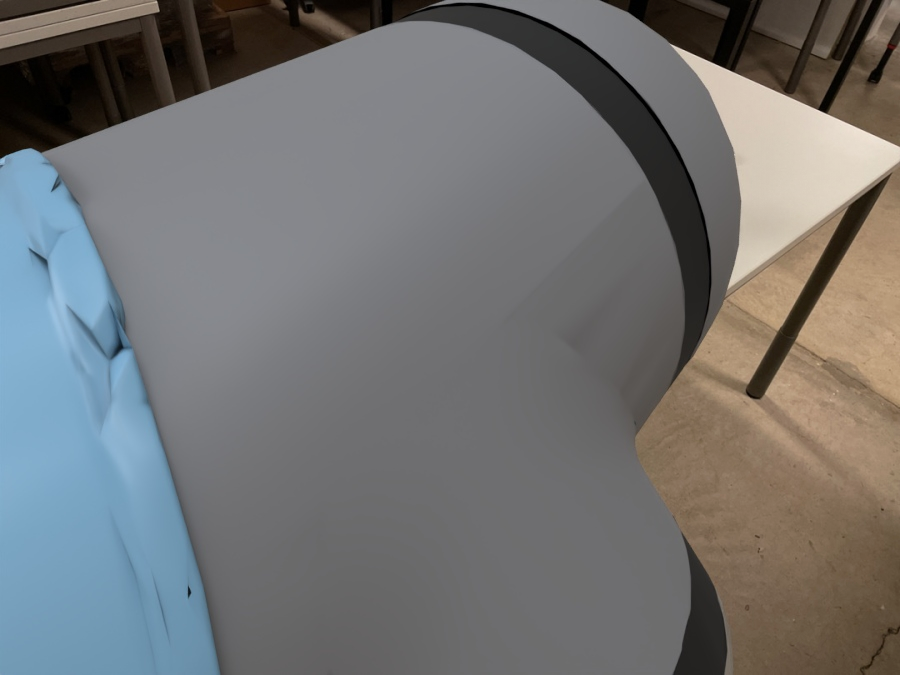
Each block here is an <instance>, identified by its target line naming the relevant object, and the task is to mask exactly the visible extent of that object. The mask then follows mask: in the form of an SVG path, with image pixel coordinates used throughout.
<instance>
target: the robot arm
mask: <svg viewBox="0 0 900 675" xmlns="http://www.w3.org/2000/svg"><path fill="white" fill-rule="evenodd" d="M734 152H735V149H734V146H733V144H732V141H731V139H730V137H729V134H728V132H727V130H726V127H725V125H724V123H723V120H722V118H721V115H720V113H719V111H718V109H717V106H716V104H715V101H714V100H713V97H712V95H711V93H710V91H709V89H708V88H707V87H706V85H705V84H704V83H703V81H702V80H701V78H700V76H699V75H698V74H697V73H696V71H695V70H694V69H693V68H692V67H691V66H690V65H689V63H688V62H687V61H686V60H685V59H684V58H683V57H682V56H681V55H680V53H679V52H678V51H677V50H676V49H675V48H674V47H673V46H672V44H670V42H669V41H668V40H667V39H666V38H664V37H663V36H662V35H660V34H659V33H658V32H656V31H655V30H653V29H652V28H650V27H649V26H648V25H646V24H645V23H643V22H642V21H640V19H638V18H636V17H635V16H634V15H633V14H631V13H630V12H628V11H626V10H623V9H620V8H619V7H616V6H614V5H612V4H609V3H607V2H604V1H602V0H442V1H439V2H436V3H433V4H430V5H428V6H425V7H423V8H420V9H417V10H415V11H412V12H410V13H407V14H405V15H404V16H402V17H400V18H399V19H397V20H394V21H393V22H391V23H389V24H386V25H382V26H379V27H376V28H374V29H371V30H368V31H366V32H362V33H360V34H357V35H355V36H352V37H349V38H347V39H344V40H342V41H339V42H335V43H332V44H330V45H328V46H325V47H323V48H320V49H317V50H314V51H311V52H309V53H306V54H304V55H301V56H298V57H296V58H293V59H290V60H287V61H284V62H282V63H280V64H277V65H274V66H272V67H268V68H266V69H263V70H260V71H258V72H255V73H252V74H250V75H248V76H245V77H241V78H239V79H236V80H234V81H231V82H228V83H226V84H222V85H220V86H217V87H215V88H213V89H210V90H207V91H204V92H202V93H199V94H196V95H193V96H191V97H188V98H186V99H182V100H180V101H177V102H175V103H172V104H170V105H167V106H164V107H161V108H158V109H156V110H153V111H151V112H148V113H145V114H143V115H140V116H137V117H134V118H132V119H128V120H127V121H123V122H121V123H118V124H115V125H112V126H109V127H108V128H105V129H102V130H100V131H97V132H94V133H92V134H89V135H86V136H83V137H80V138H78V139H76V140H73V141H69V142H67V143H64V144H62V145H59V146H57V147H54V148H51V149H49V150H45V151H42V152H40V151H38V150H36V149H34V148H26V149H25V148H24V149H21V150H18V151H15V152H13V153H10V154H6V155H5V156H3V157H2V158H0V675H734V666H735V665H734V657H733V656H734V655H733V642H732V641H733V640H732V631H731V627H730V624H729V620H728V617H727V614H726V611H725V607H724V604H723V601H722V598H721V596H720V594H719V592H718V590H717V588H716V586H715V584H714V581H713V580H712V578H711V576H710V575H709V573H708V571H707V570H706V568H705V567H704V565H703V563H702V562H701V560H700V559H699V557H698V555H697V554H696V552H695V551H694V549H693V548H692V546H691V544H690V543H689V541H688V539H687V537H686V536H685V534H684V533H683V531H682V530H681V528H680V526H679V524H678V522H677V520H676V518H675V516H674V515H673V514H672V512H671V511H670V509H669V507H668V505H667V504H666V502H665V500H664V499H663V498H662V496H661V495H660V493H659V492H658V490H657V488H656V486H655V485H654V483H653V482H652V481H651V479H650V476H648V474H647V472H646V470H645V469H644V467H643V464H642V462H641V461H640V459H639V457H638V451H637V447H636V437H637V435H638V434H639V432H640V431H641V430H642V428H643V426H644V425H645V423H646V422H647V421H648V419H649V418H650V417H651V415H652V414H653V413H654V411H655V409H656V408H657V407H658V405H659V404H660V402H661V401H662V399H663V398H664V396H665V395H666V393H667V392H668V391H669V389H670V388H671V387H672V385H673V384H674V382H675V381H676V380H677V379H678V377H679V376H680V374H681V372H682V371H683V370H684V368H685V367H686V366H687V364H689V362H690V361H691V360H692V359H693V357H694V356H695V355H696V353H697V352H698V350H699V348H700V346H701V345H702V343H703V341H704V339H705V338H706V336H707V334H708V333H709V331H710V329H711V327H712V326H713V324H714V322H715V320H716V318H717V317H718V315H719V312H720V311H721V309H722V307H723V305H724V301H725V298H726V295H727V291H728V289H729V285H730V282H731V278H732V275H733V272H734V268H735V264H736V260H737V255H738V251H739V246H740V235H741V234H740V232H741V214H742V196H741V195H742V194H741V189H740V182H739V175H738V174H739V173H738V168H737V162H736V156H735V155H736V154H735V155H734Z"/></svg>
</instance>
